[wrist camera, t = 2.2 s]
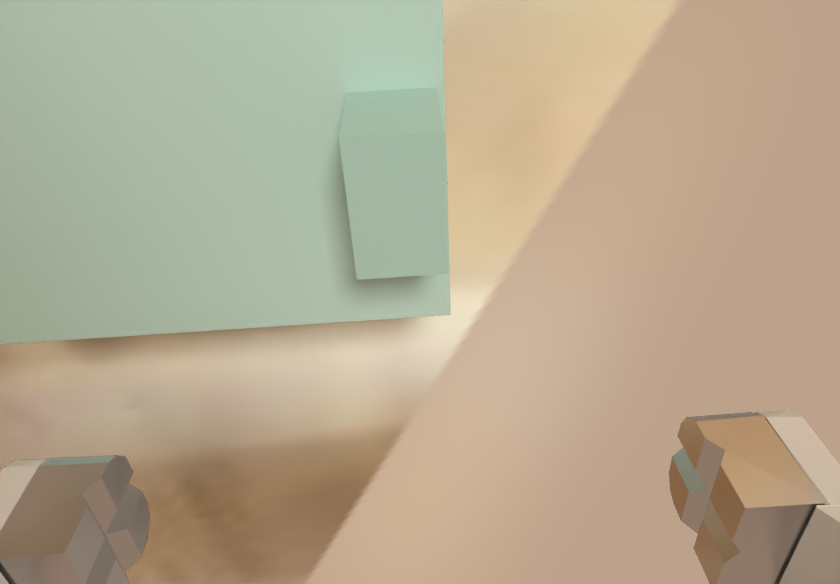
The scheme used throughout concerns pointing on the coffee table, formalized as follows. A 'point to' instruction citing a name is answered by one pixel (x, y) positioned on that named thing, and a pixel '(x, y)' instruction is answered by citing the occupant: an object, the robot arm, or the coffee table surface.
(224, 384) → the coffee table surface
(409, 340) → the coffee table surface
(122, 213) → the lid
